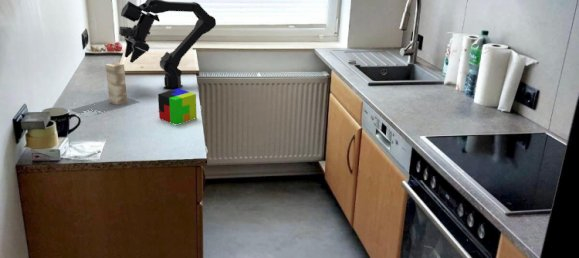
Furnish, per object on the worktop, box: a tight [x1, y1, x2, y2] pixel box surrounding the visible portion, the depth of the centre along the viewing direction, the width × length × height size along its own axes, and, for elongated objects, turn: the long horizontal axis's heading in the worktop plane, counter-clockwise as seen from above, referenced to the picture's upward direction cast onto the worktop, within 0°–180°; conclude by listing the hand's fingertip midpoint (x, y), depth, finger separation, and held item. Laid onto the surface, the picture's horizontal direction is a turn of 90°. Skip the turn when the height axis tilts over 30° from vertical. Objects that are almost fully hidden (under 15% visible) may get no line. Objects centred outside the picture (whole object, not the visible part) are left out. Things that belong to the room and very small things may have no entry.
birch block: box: [105, 61, 128, 105], centre depth 216 cm, size 5×5×16 cm
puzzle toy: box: [157, 88, 198, 125], centre depth 204 cm, size 10×10×10 cm
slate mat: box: [70, 97, 139, 114], centre depth 214 cm, size 24×12×1 cm, turn 143°
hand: (128, 59), depth 227 cm, fingers open, 9 cm apart
